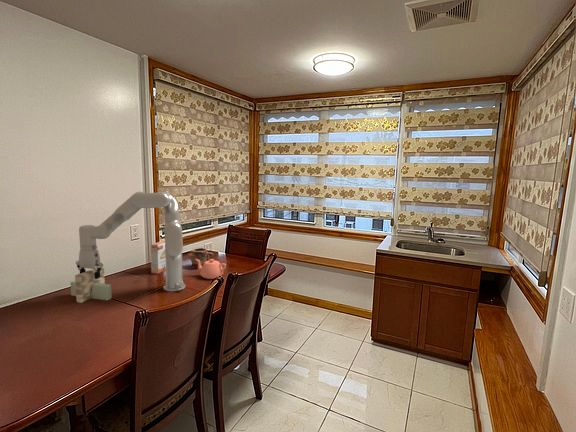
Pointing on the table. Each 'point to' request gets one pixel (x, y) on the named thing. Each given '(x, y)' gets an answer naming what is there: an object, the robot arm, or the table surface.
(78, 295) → the maple plate
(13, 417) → the table surface
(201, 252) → the decorative planter
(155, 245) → the cracker box
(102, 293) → the slotted base
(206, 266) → the teapot
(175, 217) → the robot arm
